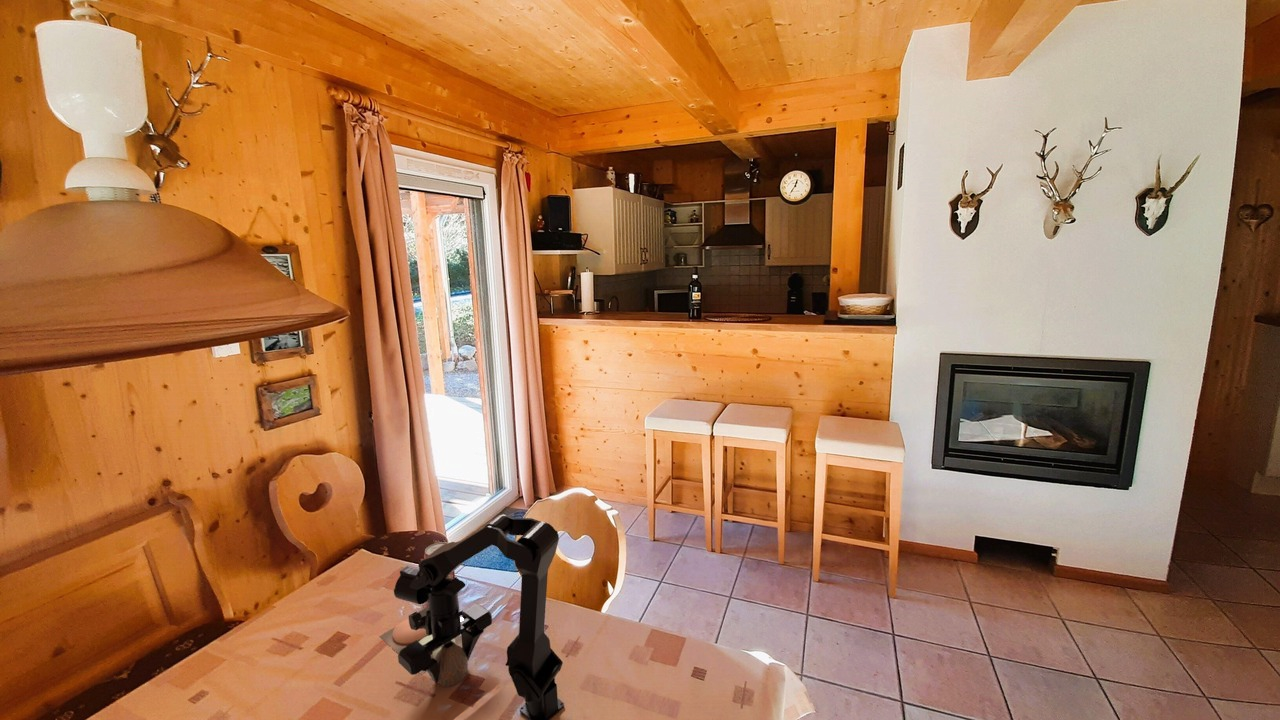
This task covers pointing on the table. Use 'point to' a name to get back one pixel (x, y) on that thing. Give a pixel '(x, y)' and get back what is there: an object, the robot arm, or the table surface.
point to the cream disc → (429, 638)
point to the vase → (451, 664)
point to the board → (397, 647)
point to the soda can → (432, 548)
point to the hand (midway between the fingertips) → (451, 670)
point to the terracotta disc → (407, 633)
